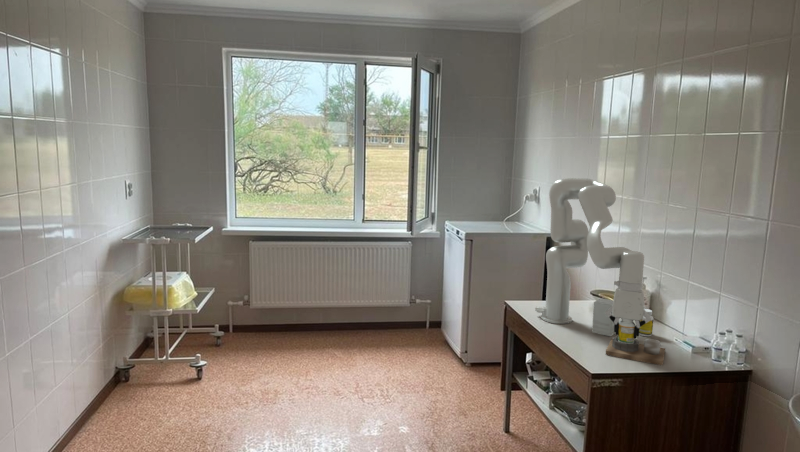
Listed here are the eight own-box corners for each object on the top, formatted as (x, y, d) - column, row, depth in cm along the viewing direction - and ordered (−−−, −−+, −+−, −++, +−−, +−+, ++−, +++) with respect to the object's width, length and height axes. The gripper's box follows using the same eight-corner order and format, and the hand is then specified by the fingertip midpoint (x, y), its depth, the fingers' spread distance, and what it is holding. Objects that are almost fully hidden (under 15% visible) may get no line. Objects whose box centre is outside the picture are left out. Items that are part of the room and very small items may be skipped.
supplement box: (617, 332, 208) (619, 301, 206) (610, 336, 202) (612, 305, 201) (598, 328, 213) (601, 297, 211) (591, 332, 207) (593, 301, 206)
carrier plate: (605, 354, 184) (606, 339, 183) (611, 342, 196) (612, 328, 195) (662, 365, 175) (664, 349, 174) (664, 352, 187) (666, 337, 187)
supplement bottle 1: (631, 346, 183) (633, 319, 182) (615, 342, 186) (617, 316, 185) (635, 342, 187) (637, 316, 186) (620, 338, 190) (622, 313, 189)
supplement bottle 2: (653, 337, 203) (655, 312, 201) (638, 336, 204) (640, 311, 202) (650, 332, 208) (652, 308, 207) (635, 331, 209) (637, 307, 208)
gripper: (602, 285, 185) (599, 334, 187) (656, 292, 177) (652, 343, 179) (605, 281, 191) (602, 328, 194) (657, 287, 183) (653, 337, 186)
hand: (626, 335), depth 186 cm, fingers closed on supplement bottle 1, 5 cm apart
